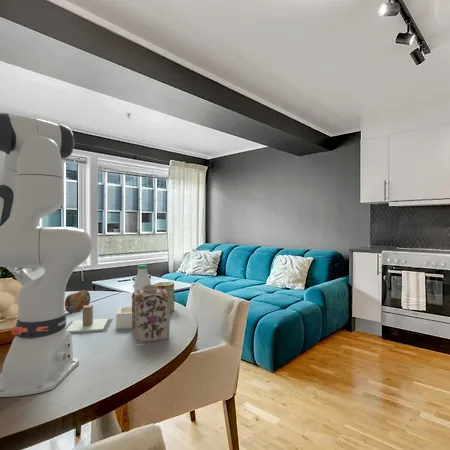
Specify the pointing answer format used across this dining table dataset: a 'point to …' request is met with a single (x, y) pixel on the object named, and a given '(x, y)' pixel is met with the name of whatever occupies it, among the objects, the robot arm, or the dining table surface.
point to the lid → (87, 322)
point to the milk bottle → (141, 278)
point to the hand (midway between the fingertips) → (53, 290)
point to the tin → (77, 301)
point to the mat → (96, 331)
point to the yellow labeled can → (170, 290)
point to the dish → (124, 317)
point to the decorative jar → (150, 314)
